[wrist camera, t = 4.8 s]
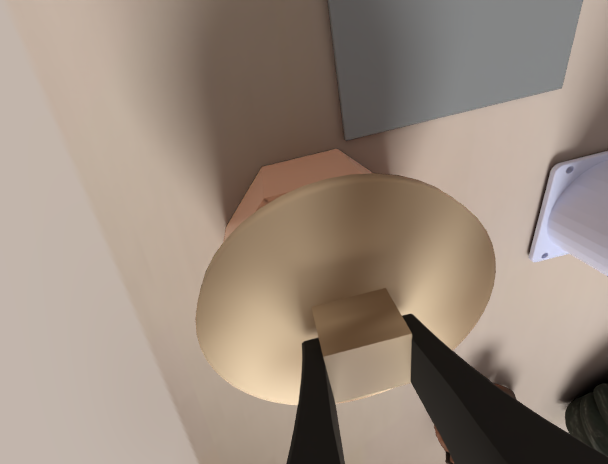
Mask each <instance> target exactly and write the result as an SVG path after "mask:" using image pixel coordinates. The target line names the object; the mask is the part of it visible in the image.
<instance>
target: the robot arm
mask: <svg viewBox="0 0 608 464" xmlns="http://www.w3.org/2000/svg"><path fill="white" fill-rule="evenodd" d="M565 254H571V255H573V256H574V257H576V258H578V259H579V260H581V261H583V262H584V263H586V264H588V265H590V266H591V267H593V268H595V269H596V270H598V271H600V272H601V273H603V274H605V275H606V276H608V151H605V152H601V153H597V154H593V155H589V156H585V157H581V158H577V159H573V160H569V161H565V162H561V163H558V164H556V165H555V166H554V167H553V168H552V169H551V172H550V176H549V180H548V184H547V187H546V191H545V195H544V199H543V203H542V207H541V211H540V215H539V219H538V222H537V226H536V230H535V234H534V238H533V242H532V246H531V250H530V254H529V259H530V260H531V261H533V262H538V261H542V260H546V259H550V258H554V257H558V256H562V255H565ZM402 317H403V319H404V320H405V322H406V324H407V326H408V327H409V329H410V331H411V333H412V345H411V383H412V385H413V387H414V389H415V390H416V392H417V394H418V396H419V398H420V399H421V401H422V403H423V405H424V407H425V408H426V410H427V412H428V414H429V416H430V418H431V419H432V421H433V423H434V425H435V427H436V428H437V430H438V432H439V434H440V436H441V437H442V439H443V441H444V443H445V445H446V447H447V449H448V451H449V453H450V455H451V457H452V460H453V462H454V464H608V456H606V455H604V454H603V453H601V452H599V451H597V450H595V449H594V448H592V447H590V446H589V445H587V444H585V443H584V442H582V441H580V440H579V439H577V438H575V437H574V436H572V435H570V434H569V433H567V432H565V431H564V430H562V429H561V428H559V427H557V426H556V425H554V424H552V423H551V422H549V421H547V420H546V419H544V418H543V417H541V416H540V415H538V414H537V413H535V412H534V411H532V410H531V409H529V408H528V407H526V406H525V405H523V404H522V403H520V402H519V401H517V400H516V399H514V398H513V397H512V396H510V395H509V394H507V393H506V392H504V391H503V390H502V389H500V388H499V387H498V386H496V385H495V384H494V383H492V382H491V381H490V380H488V379H487V378H486V377H484V376H483V375H482V374H480V373H479V372H478V371H477V370H475V369H474V368H473V367H472V366H470V365H469V364H468V363H467V362H465V361H464V360H463V359H462V358H461V357H459V356H458V355H457V354H456V353H455V352H453V351H452V350H451V349H450V348H449V347H448V346H446V345H445V344H444V343H443V342H442V341H441V340H440V339H439V338H438V337H436V336H435V335H434V334H433V333H432V332H431V331H430V330H429V329H428V328H427V327H426V326H425V325H424V324H422V323H421V322H420V321H419V320H418V319H417V318H416V317H415V316H414V315H413V314H407V315H403V316H402ZM287 464H345V461H344V455H343V449H342V443H341V436H340V430H339V424H338V417H337V411H336V405H335V400H334V396H333V392H332V388H331V384H330V381H329V377H328V373H327V369H326V365H325V362H324V358H323V354H322V350H321V345H320V341H319V337H318V338H314V339H310V340H307V341H304V342H303V343H302V373H301V384H300V393H299V401H298V408H297V414H296V420H295V425H294V431H293V436H292V441H291V446H290V451H289V455H288V459H287Z"/></svg>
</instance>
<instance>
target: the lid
mask: <svg viewBox="0 0 608 464" xmlns="http://www.w3.org/2000/svg"><path fill="white" fill-rule="evenodd" d="M495 273H496V266H495V254H494V250H493V245H492V242H491V240H490V238H489V236H488V233H487V231H486V229H485V228H484V227H483V225H482V224H481V223H480V221H479V220H478V218H477V217H476V216H475V215H473V214H472V213H471V212H470V211H469V210H468V209H467V208H466V207H465V206H463V205H462V204H461V203H459V202H458V201H456V200H455V199H454V198H452V197H451V196H449V195H448V194H446V193H444V192H443V191H441V190H439V189H438V188H436V187H434V186H432V185H429V184H427V183H424V182H422V181H419V180H416V179H412V178H407V177H403V176H399V175H390V174H378V173H370V174H351V175H345V176H339V177H334V178H328V179H324V180H321V181H318V182H315V183H311V184H308V185H305V186H302V187H300V188H297V189H295V190H293V191H291V192H289V193H286V194H284V195H282V196H280V197H278V198H276V199H275V200H273V201H271V202H270V203H268V204H266V205H265V206H263V207H261V208H260V209H258V210H257V211H256V212H255V213H253V214H252V215H251V216H250V217H248V218H247V219H246V220H244V221H243V222H242V223H241V224H240V225H239V226H238V227H237V228H236V229H235V230H234V231H233V232H232V233H231V234H230V235H229V236H228V237H227V238H226V240H225V241H224V242H223V244H222V245H221V246H220V248H219V249H218V251H217V252H216V253H215V255H214V257H213V259H212V261H211V263H210V264H209V266H208V268H207V270H206V273H205V276H204V279H203V282H202V286H201V289H200V294H199V298H198V303H197V311H196V332H197V337H198V341H199V344H200V348H201V350H202V352H203V354H204V356H205V358H206V360H207V361H208V362H209V364H210V365H211V366H212V368H213V369H214V370H215V371H216V372H217V373H218V374H219V375H220V376H221V377H222V378H223V379H224V380H225V381H227V382H228V383H230V384H231V385H233V386H234V387H236V388H237V389H239V390H241V391H243V392H245V393H247V394H250V395H252V396H255V397H258V398H260V399H264V400H268V401H272V402H276V403H283V404H289V405H298V401H299V393H300V384H301V373H302V343H303V342H304V341H307V340H310V339H314V338H318V337H319V341H320V345H321V350H322V354H323V358H324V362H325V365H326V369H327V373H328V377H329V381H330V384H331V388H332V392H333V396H334V400H335V404H338V403H344V402H350V401H354V400H358V399H363V398H366V397H370V396H373V395H376V394H379V393H382V392H384V391H387V390H390V389H392V388H395V387H398V386H402V385H406V384H410V383H411V345H412V333H411V331H410V329H409V327H408V326H407V324H406V322H405V320H404V319H403V317H402V316H403V315H407V314H413V315H414V316H415V317H416V318H417V319H418V320H419V321H420V322H421V323H422V324H424V325H425V326H426V327H427V328H428V329H429V330H430V331H431V332H432V333H433V334H434V335H435V336H436V337H438V338H439V339H440V340H441V341H442V342H443V343H444V344H445V345H446V346H448V347H449V348H450V349H451V350H452V351H453V350H454V349H455V348H456V347H457V346H458V345H459V344H460V343H461V342H462V341H463V340H464V339H465V338H466V336H467V335H468V334H469V333H470V331H471V330H472V329H473V328H474V326H475V325H476V323H477V322H478V320H479V319H480V317H481V315H482V314H483V312H484V310H485V308H486V306H487V303H488V301H489V299H490V296H491V293H492V289H493V286H494V280H495Z"/></svg>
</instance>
